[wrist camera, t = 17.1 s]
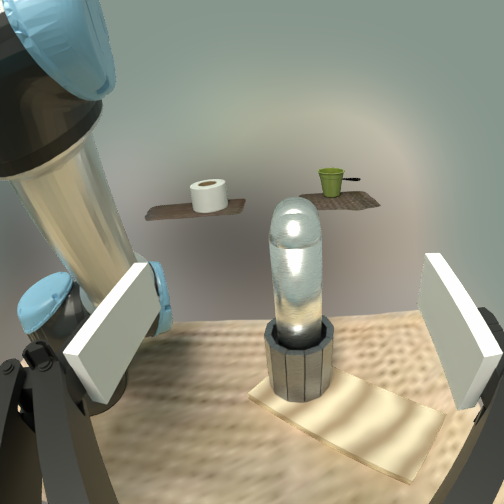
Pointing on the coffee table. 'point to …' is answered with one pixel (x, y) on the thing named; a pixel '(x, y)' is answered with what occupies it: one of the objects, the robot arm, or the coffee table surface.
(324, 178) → the plant pot
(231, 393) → the coffee table surface
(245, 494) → the coffee table surface
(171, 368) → the coffee table surface
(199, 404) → the coffee table surface
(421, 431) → the birch board
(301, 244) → the polished capsule rod
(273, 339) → the grey wooden bucket
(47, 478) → the robot arm
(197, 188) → the toilet paper roll
